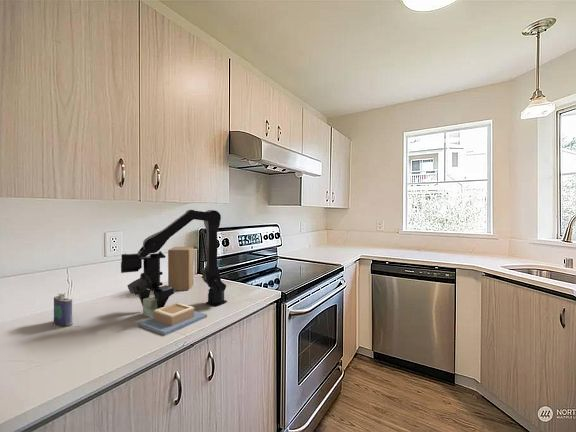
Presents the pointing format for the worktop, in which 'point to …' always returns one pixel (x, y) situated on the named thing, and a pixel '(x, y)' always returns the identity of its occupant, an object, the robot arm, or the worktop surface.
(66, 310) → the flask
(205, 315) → the build base
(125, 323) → the worktop surface
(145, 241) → the robot arm
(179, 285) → the wooden block
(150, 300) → the sage block
